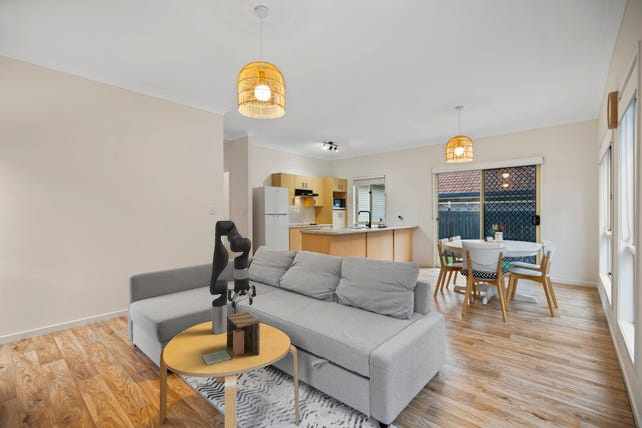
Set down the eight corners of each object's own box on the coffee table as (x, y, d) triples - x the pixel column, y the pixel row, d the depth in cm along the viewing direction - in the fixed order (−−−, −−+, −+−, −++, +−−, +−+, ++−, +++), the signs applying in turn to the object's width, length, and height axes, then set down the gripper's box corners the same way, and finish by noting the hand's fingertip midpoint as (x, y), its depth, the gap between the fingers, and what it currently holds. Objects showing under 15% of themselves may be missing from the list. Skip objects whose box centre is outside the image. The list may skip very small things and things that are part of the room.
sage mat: (202, 356, 154) (202, 355, 154) (225, 350, 161) (225, 349, 161) (207, 365, 145) (207, 364, 145) (231, 358, 152) (231, 357, 152)
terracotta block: (233, 352, 160) (233, 330, 160) (241, 349, 162) (241, 328, 162) (235, 355, 156) (235, 332, 156) (243, 353, 159) (244, 331, 159)
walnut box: (226, 347, 165) (226, 315, 166) (247, 342, 172) (247, 311, 172) (237, 361, 150) (237, 326, 150) (259, 354, 156) (259, 321, 157)
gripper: (253, 272, 158) (253, 301, 159) (225, 276, 151) (226, 306, 152) (257, 276, 151) (257, 306, 153) (228, 280, 144) (229, 312, 146)
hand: (242, 306), depth 152 cm, fingers open, 8 cm apart
